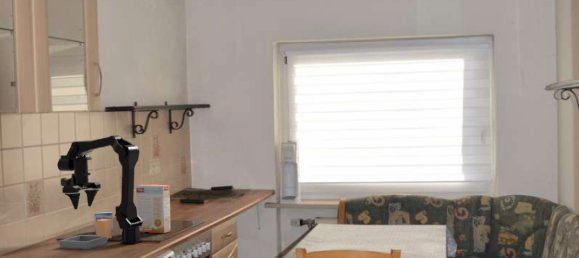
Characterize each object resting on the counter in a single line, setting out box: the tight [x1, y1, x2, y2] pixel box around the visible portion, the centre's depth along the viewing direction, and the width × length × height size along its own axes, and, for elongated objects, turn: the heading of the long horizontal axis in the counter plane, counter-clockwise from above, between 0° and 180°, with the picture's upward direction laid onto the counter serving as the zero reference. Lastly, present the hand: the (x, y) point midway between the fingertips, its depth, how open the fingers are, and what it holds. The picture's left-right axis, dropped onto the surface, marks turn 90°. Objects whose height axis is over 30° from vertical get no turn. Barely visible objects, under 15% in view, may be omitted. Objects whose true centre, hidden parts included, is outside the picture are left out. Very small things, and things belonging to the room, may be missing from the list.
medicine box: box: [93, 211, 114, 234], centre depth 318 cm, size 8×4×9 cm, turn 106°
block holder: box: [59, 234, 108, 251], centre depth 284 cm, size 13×13×3 cm
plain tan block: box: [95, 219, 113, 240], centre depth 300 cm, size 4×4×8 cm
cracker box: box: [135, 184, 172, 234], centre depth 314 cm, size 14×6×21 cm, turn 68°
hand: (82, 207), depth 299 cm, fingers open, 9 cm apart
